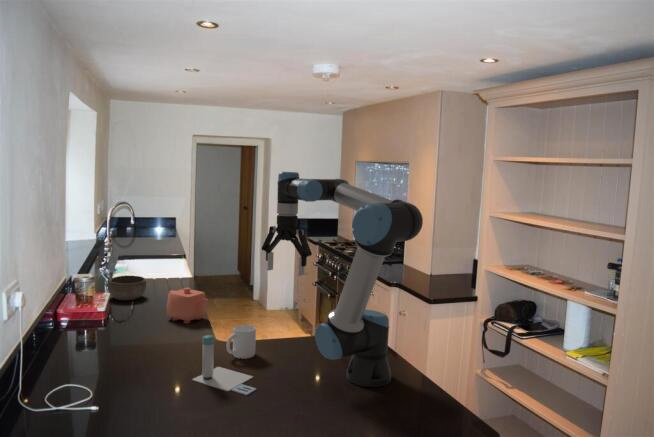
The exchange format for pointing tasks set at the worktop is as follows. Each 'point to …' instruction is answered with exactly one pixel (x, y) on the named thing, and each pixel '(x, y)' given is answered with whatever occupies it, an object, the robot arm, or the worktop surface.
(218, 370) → the paper
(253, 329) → the mug
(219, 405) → the worktop surface
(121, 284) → the bowl
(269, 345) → the worktop surface
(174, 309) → the teapot
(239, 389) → the word card
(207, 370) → the marker
